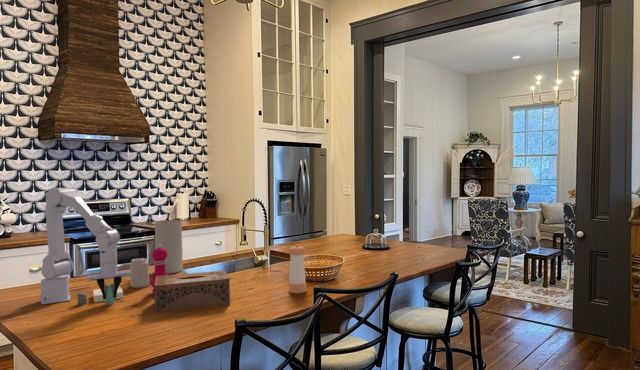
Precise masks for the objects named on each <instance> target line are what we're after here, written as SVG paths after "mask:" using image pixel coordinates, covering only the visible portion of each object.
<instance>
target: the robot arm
mask: <svg viewBox="0 0 640 370" xmlns="http://www.w3.org/2000/svg"><path fill="white" fill-rule="evenodd" d="M68 207H70V208H73V210H75V211H76V213H78V215H80V216H81V217H82V218H83V219H84V221H85V226H86V228H88V229H89V231H90V233H92V234H93V235H94V236H95V243H96V244H97V246H98V250H99V266H100V267H99V268H100V272H99V273H95V274H90V275H87V276H86V282H92V281H94V282H95V281H96V283H97V285H98V287H99V289H101V292H102V295H103V299H105V285H106V284H105V283H106V282H105V280H109V279H110V280H111V279H113V285H114V298H116V294H117V290H118V287H120V284H121V282H122V278H130V270H126V271H125V270H124V271H123V270H122V271H118V248H117V247H118V243H119V242H120V239H121V235H120V232H119V231H118V230H117V228H116V229H115V228H112V227H111V226H110V225H108V223H107V222H106V221H105V220H104V219H103V216H101V215H99V214H94V212H93V211H92V209H90V207H89V206H88V205H87V203H86V202H85V200H83V198H82V193H81V192H80V191H79V190H78V189H77V188H76V187H74V186H72V187H51V188H50V189H49V190H48V191H47V192H46V193H45V210H44V211H45V219H46V220H45V221H46V222H45V223H46V234H47V236H46V237H47V245H48V246H47V247H48V254H47V255H46V256H44V257H43V259H42V265H41V270H40V271H41V275H42V276H43V278H42V279H41V280H40V295H39V296H40V297H39V298H40V304H41V305H47V304H48V305H49V304H54V303H55V304H56V303H61V302H69V301H71V294H70V282H69V281H70V279H69V277H70V276H71V272H72V271H73V269H74V264H73V261H72V257H71V254H69V253H68V252H66V247H65V246H66V245H65V231H64V220H63V218H64V217H63V216H64V215H63V212H64V211H65V209H67V208H68Z"/></svg>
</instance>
